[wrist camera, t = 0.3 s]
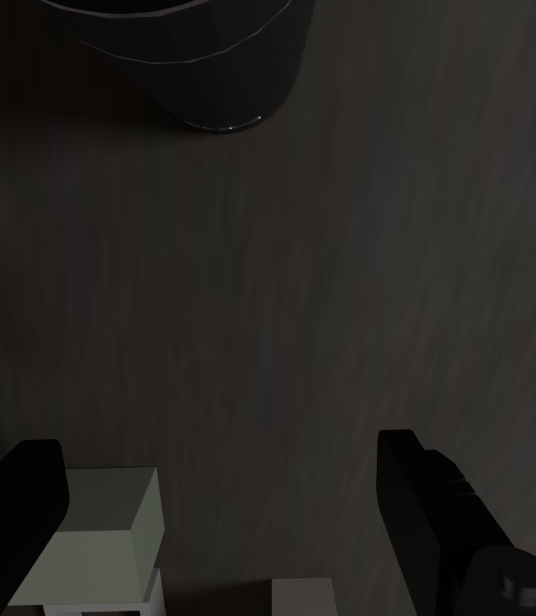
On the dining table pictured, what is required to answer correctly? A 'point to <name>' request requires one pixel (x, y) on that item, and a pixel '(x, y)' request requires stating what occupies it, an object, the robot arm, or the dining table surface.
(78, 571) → the grey boxy piece
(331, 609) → the orange and grey block
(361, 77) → the dining table surface
